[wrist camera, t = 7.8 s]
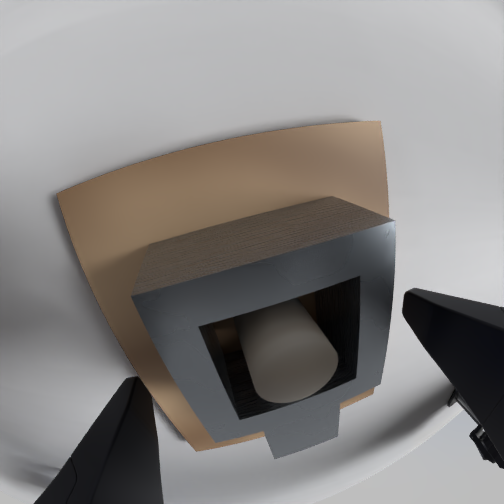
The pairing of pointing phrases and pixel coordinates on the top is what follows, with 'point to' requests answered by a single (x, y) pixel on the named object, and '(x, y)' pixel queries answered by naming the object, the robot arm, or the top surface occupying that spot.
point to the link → (266, 294)
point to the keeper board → (213, 213)
